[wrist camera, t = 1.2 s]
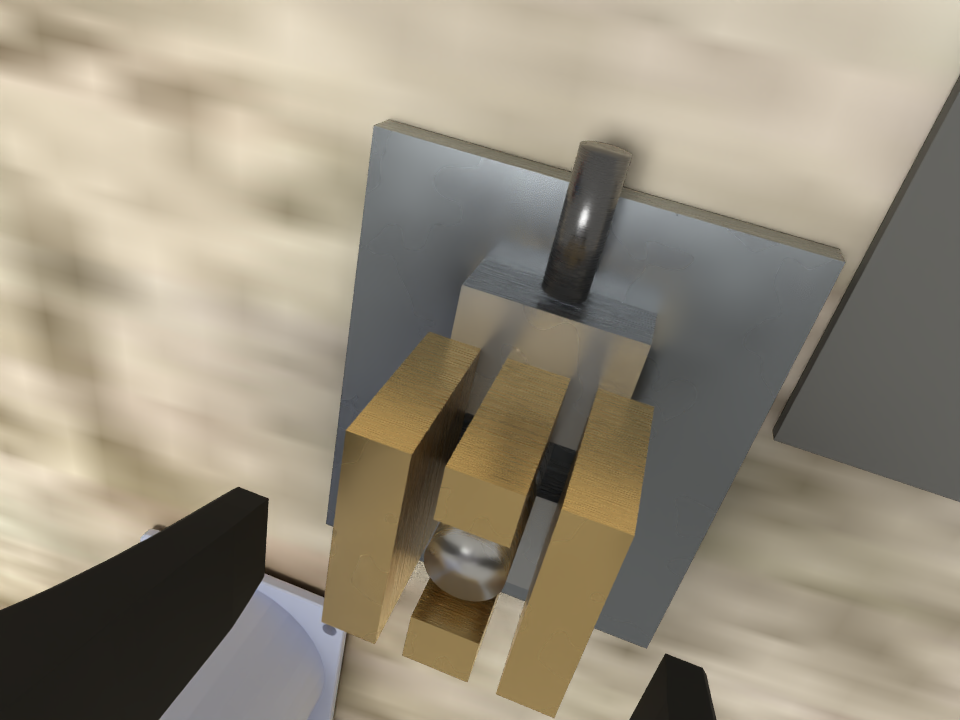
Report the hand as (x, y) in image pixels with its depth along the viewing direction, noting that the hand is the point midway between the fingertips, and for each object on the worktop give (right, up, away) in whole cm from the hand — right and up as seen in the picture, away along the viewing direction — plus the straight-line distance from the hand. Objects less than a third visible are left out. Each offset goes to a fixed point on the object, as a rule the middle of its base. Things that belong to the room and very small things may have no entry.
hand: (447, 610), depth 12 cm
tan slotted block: (+1, +2, +4) cm, 5 cm away
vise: (+2, +3, +6) cm, 7 cm away
